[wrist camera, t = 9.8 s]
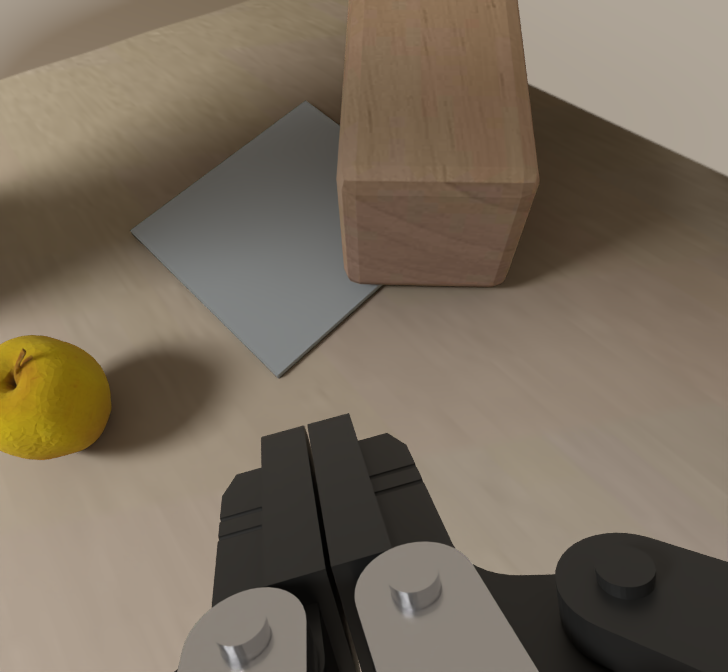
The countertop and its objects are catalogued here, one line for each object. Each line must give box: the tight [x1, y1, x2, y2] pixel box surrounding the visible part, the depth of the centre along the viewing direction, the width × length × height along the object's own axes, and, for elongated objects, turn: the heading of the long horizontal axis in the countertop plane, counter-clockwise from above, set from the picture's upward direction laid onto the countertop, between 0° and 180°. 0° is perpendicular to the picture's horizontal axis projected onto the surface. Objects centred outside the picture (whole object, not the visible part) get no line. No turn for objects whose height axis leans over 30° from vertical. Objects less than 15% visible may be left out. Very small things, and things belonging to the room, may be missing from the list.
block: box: [336, 0, 540, 287], centre depth 38 cm, size 10×10×20 cm
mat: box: [130, 100, 382, 378], centre depth 41 cm, size 15×16×1 cm
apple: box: [0, 335, 111, 460], centre depth 32 cm, size 6×6×8 cm
